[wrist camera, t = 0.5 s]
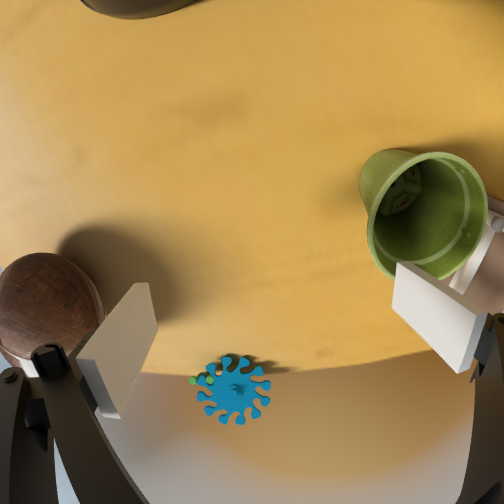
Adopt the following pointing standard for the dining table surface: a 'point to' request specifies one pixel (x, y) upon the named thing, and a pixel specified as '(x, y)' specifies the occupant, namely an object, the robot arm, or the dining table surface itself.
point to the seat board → (485, 265)
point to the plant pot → (422, 210)
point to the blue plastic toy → (231, 390)
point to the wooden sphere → (45, 307)
